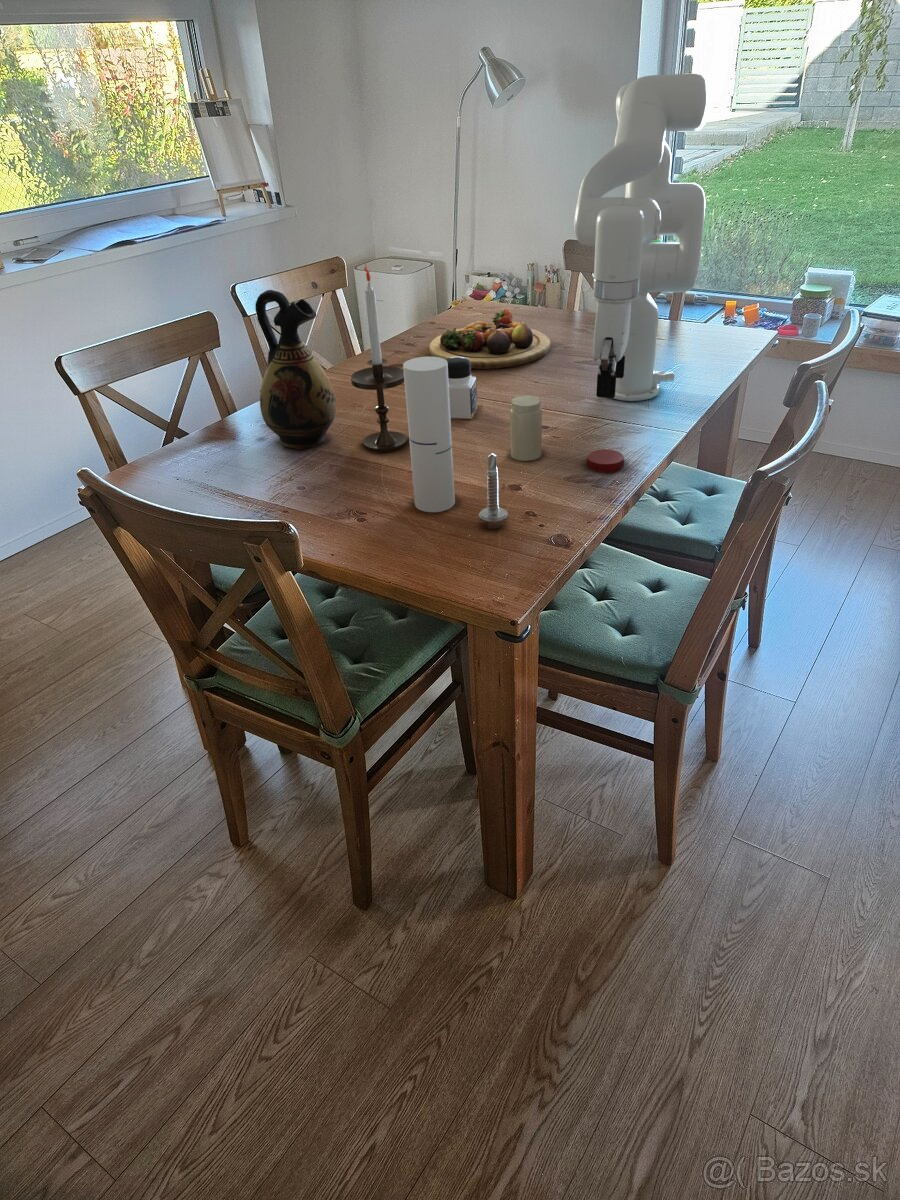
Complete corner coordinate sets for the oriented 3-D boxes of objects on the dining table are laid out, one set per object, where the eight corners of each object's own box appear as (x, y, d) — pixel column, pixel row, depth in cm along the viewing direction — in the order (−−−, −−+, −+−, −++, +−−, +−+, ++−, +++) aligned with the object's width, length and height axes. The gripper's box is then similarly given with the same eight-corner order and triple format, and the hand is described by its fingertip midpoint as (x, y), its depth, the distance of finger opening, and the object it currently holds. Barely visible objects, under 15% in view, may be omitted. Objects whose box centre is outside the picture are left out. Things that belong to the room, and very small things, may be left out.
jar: (536, 446, 163) (536, 393, 157) (545, 458, 158) (546, 404, 152) (507, 450, 162) (506, 397, 156) (515, 462, 158) (514, 408, 151)
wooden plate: (474, 327, 235) (473, 298, 231) (572, 342, 219) (573, 310, 214) (405, 359, 214) (402, 327, 210) (508, 378, 198) (507, 343, 193)
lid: (593, 474, 151) (593, 466, 150) (582, 460, 157) (582, 451, 156) (628, 470, 152) (629, 461, 151) (616, 455, 158) (616, 447, 157)
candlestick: (352, 440, 171) (330, 262, 151) (400, 429, 174) (385, 255, 155) (368, 458, 163) (347, 273, 143) (419, 447, 166) (405, 265, 146)
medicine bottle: (471, 419, 177) (469, 364, 170) (439, 418, 178) (436, 364, 172) (477, 407, 183) (475, 354, 176) (446, 406, 184) (443, 353, 178)
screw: (513, 523, 137) (496, 535, 135) (491, 515, 140) (473, 526, 137) (513, 451, 130) (494, 462, 127) (489, 444, 133) (470, 455, 130)
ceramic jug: (352, 428, 176) (334, 283, 159) (320, 458, 164) (297, 304, 147) (282, 422, 181) (258, 281, 164) (246, 450, 169) (216, 300, 152)
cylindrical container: (413, 495, 148) (402, 358, 134) (453, 492, 148) (445, 355, 134) (415, 513, 142) (403, 372, 128) (456, 510, 142) (449, 368, 129)
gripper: (602, 274, 145) (598, 369, 155) (583, 302, 132) (580, 403, 142) (645, 275, 143) (638, 371, 153) (631, 304, 129) (623, 406, 139)
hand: (610, 386), depth 147 cm, fingers open, 9 cm apart
